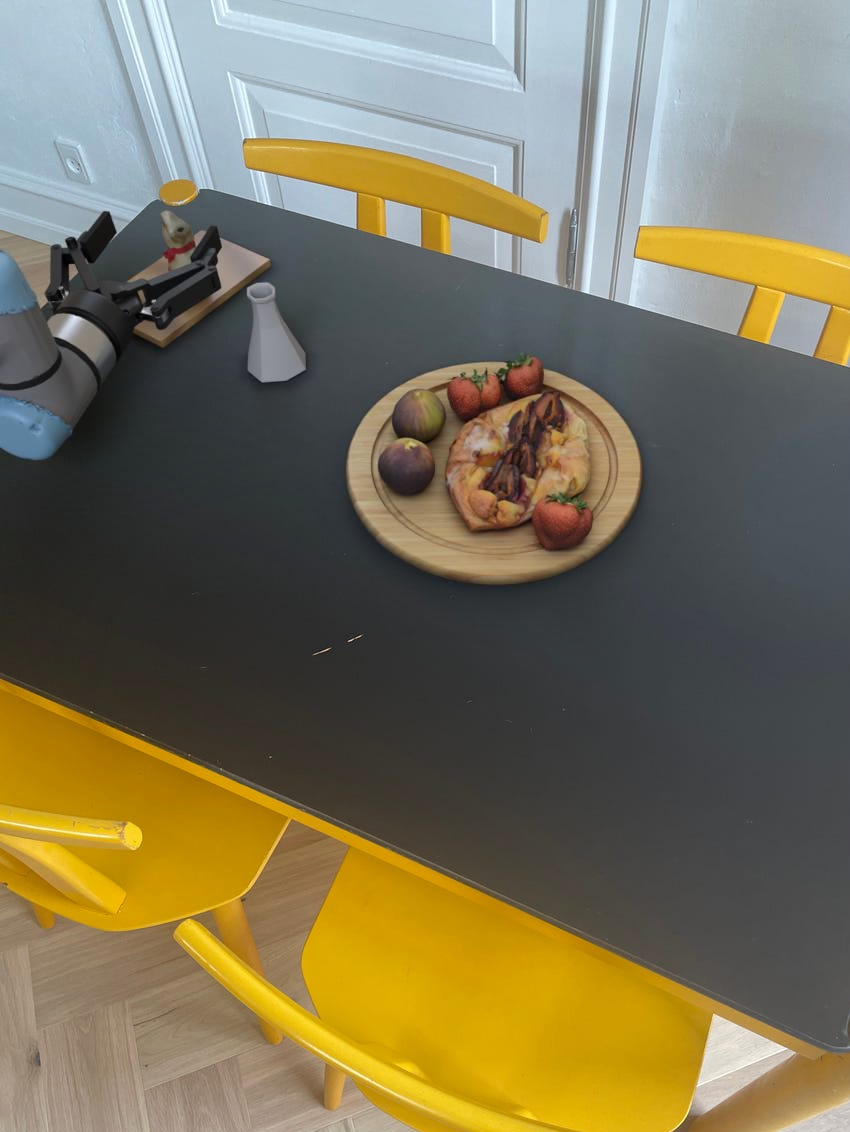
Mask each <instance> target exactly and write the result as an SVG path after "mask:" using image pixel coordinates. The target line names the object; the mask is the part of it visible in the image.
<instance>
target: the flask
mask: <svg viewBox="0 0 850 1132" xmlns="http://www.w3.org/2000/svg"><path fill="white" fill-rule="evenodd" d="M246 296H247V299H248V300H249V301H250V303H251V307H252V318H253V319H252V320H253V321H252V327H251V336H250V341H249V347H248V352H247V372H249V373H250V374H251V375H252V376H253V377H255V378H256V379H257V380H258V381H260V382H261V383H271V382H274V383H275V382H284V381H289V380H290V379H292V378H293V377H296V376H297V375H299V374H301V373H302V372H304V371H306V370H307V368H306V367H307V362H306V356H307V355H306V354H307V353H306V352H305V350H304V349H303V347H302V346H301V345H300V343H299V342H298V340H297V339H296V336H294V335H293V333H292V331H291V330H290V328H289V326H288V325H287V323H286V322H285V320H284V319H283V317H282V315H281V313H280V310H279V308H278V306H277V303H276V287H275V286H273V285H272V284H271V283H270V282H267V281H266V282H256V283H254V284H252V285H250V286H248V287H246Z"/></svg>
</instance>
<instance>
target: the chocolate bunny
mask: <svg viewBox="0 0 850 1132" xmlns="http://www.w3.org/2000/svg"><path fill="white" fill-rule="evenodd" d="M160 218H161V222H162V224H161V234H162V238H163V240H164V242H165V244H166V246H167V248H168V249H167V250H166V251H163V253H162V254H163V256H164V257H165V258H166V259H168V272H170V271H172V270H175V269H177V268H180V267H182V266H185V265H187V264H190V263H191V260H190V256H191V255H192V253H193V252H194V250H195V249H196V245H195V241H194V235H195V233H194V231H193V229H192V227H191V225H189V224H188V223H187V222H186V221H184V220H183V219H181V218H180V217H178V216H177V215H175V213H174V212H173V211H170V210H168V209H166V210H164V211H162V212H160Z"/></svg>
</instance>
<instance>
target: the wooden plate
mask: <svg viewBox="0 0 850 1132" xmlns="http://www.w3.org/2000/svg"><path fill="white" fill-rule="evenodd" d="M518 357H520V358H519V359H515V360H513V361H512V360H511V359H510V360H503V361H482V362H471V363H470V362H469V363H462V364H457V365H451V366H448V367H447V366H445V367H443V368H438V369H435V370H432V371H429V372H426V373H424V374H421V375H418V376H416V377H414V378H411V379H410V380H408V381H406V382H404V383H402V384H400V385H399V386H397V387H395V388H393V389H392V390H391V391H389V392H388V393H387V394H386V395H384V396H383V397H382V398H380V400H378V401H377V402H376V403H375V404H374V405H373V406H372V407H371V408H370V409H369V411H367V413H365V415H364V416H363V417H362V419H361V421H360V422H359V424H358V426H357V428H356V429H355V431H354V433H353V435H352V438H351V441H350V443H349V447H348V451H347V455H346V459H345V460H346V461H345V479H346V480H345V482H346V489H347V492H348V496H349V499H350V502H351V504H352V506H353V509H354V511H355V513H356V515H357V517H358V518H359V520H360V522H361V523H362V525H363V526H364V528H365V529H366V530H367V531H368V533H369V534H370V535H371V537H372V538H373V539H374V540H375V541H376V542H377V543H378V544H380V546H381V547H383V548H384V549H386V551H388V552H389V553H391V554H393V555H394V556H395V557H397V558H399V559H401V560H402V561H404V562H405V563H407V564H408V565H411V566H413V567H415V568H416V569H419V570H421V571H423V572H425V573H428V574H431V575H434V576H436V577H440V578H443V579H448V580H450V581H456V582H460V583H466V584H475V585H481V586H482V585H487V586H499V585H501V586H504V585H518V584H525V583H532V582H536V581H541V580H544V579H550V578H553V577H555V576H557V575H561V574H564V573H567V572H568V571H571V570H573V569H575V568H578V567H579V566H581V565H583V564H585V563H586V562H588V561H590V560H592V559H593V558H594V557H596V556H597V555H599V554H600V553H602V551H605V550H606V549H607V548H608V547H609V546H610V545H611V544H612V543H613V542H614V541H615V540H616V539H617V538H618V537H619V536H620V535H621V533H622V532H623V531H624V529H625V528H626V526H627V525H628V523H629V522H630V521H631V519H632V517H633V515H634V513H635V511H636V508H637V507H638V503H639V501H640V496H641V491H642V486H643V473H644V472H643V471H644V470H643V461H642V456H641V452H640V449H639V446H638V443H637V440H636V438H635V436H634V434H633V432H632V431H631V428H630V427H629V425H628V424H627V423H626V421H625V420H624V419H623V417H622V416H621V415H620V413H619V412H618V411H617V410H616V409H615V408H614V406H613V405H611V404H610V403H609V402H608V401H607V400H606V399H605V398H603V397H602V396H601V395H599V394H598V393H597V392H595V391H594V390H592V389H591V388H589V387H588V386H586V385H584V384H582V383H581V382H578V381H577V380H574V379H572V378H570V377H568V376H566V375H563V374H561V373H559V372H557V371H553V370H550V369H546V368H544V366H543V363H542V361H541V360H540V359H538V358H537V357H535V356H531V353H529V354H527V353H526V354H524V351H523V352H522V351H520V353H519V355H518Z"/></svg>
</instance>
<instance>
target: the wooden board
mask: <svg viewBox="0 0 850 1132" xmlns="http://www.w3.org/2000/svg"><path fill="white" fill-rule="evenodd" d="M206 232H207V230H205V229H201V230H199V231H198V232H196V233H194V241H195V245H196V247H197V246H198V244H199V243H200V241H201V240H202V238H203V237H204V235H205V233H206ZM220 241H221V244H222V248H221V250H220V251H219V253H218V255H217V257H218V263H217V265H216V267H217V271H218V275H219V279H220V282H221V286H222V288H221V289H220V290H218V291H217V292H215V293H214V294H212V295H211V296H209V297H207V298H206V299H204V300H203V301H201V302H200V303H198V304H196V305H195V306H193V307H192V308H190V309H189V310H187V311H185V312H184V313H182V314H181V315H179V316H178V317H176V318H174V320H173V321H172V322H171V323H170V324H169V326H168V327H167V328H166V329H164V330H158V329H157V328H156V325H155V323H154V322H150V321H146V320H144V321H143V322H141V323H139V324H138V325H137V326H135V328H134V331H133V335H134V334H135V335H136V336H139V337H140V338H142V339H144V340H146V341H149V342H150V343H152V344H154V345H156V346H158V347H160V348H165V347H167V346H168V345H170V344H171V343H172V342H173V341H175V340H176V339H177V338H178V337H180V336H181V335H182V334H184V333H185V332H187V331H188V330H189V329H190V328H191V327H193V326H194V325H196V324H197V323H199V321H201V320H202V319H204V318H205V317H206V316H208V315H209V314H210V313H211V312H212V311H214V310H215V309H217V308H218V307H219V306H221V305H222V304H223V303H225V302H226V301H227V300H228V299H230V298H231V297H232V296H234V295H235V294H236V293H238V292H239V291H241V290H242V289H243V288H245V286H247V285H248V284H249V283H251V282H252V281H254V280H255V279H256V278H258V277H259V276H260V275H261V274H263V273H264V272H266V270H268V269H269V268H270V267H272V263H271V259H270V258H267V257H266V256H263V255H260V254H258V253H256V252H254V251H252V250H249V249H247V248H245V247H243V246H241V245H238V244H237V243H233V242H231V241H229V240H227V239H225V238H222V237H220ZM167 272H168V259H166V258H165V257H164V255H162V257H161V258H159V259H157V260H156V261H154V262H153V263H152V264H150V265H149V266H148V267H146V268H145V269H143V270H141V271H140V272H139V273H137V274H136V275H134V276H133V277H131V278H130V279H129V280H127V281H126V282H130V283H131V282H133V281H136V280H138V279H141V278H143V279H145V280H150V279H152V278H155V277H157V276H160V275H162V274H165V273H167ZM138 293H139V296H140V299H141V301H142V304H143V303H145V301H146V300H145V297H144V294H143V291H142V290H140V291H138Z"/></svg>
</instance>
